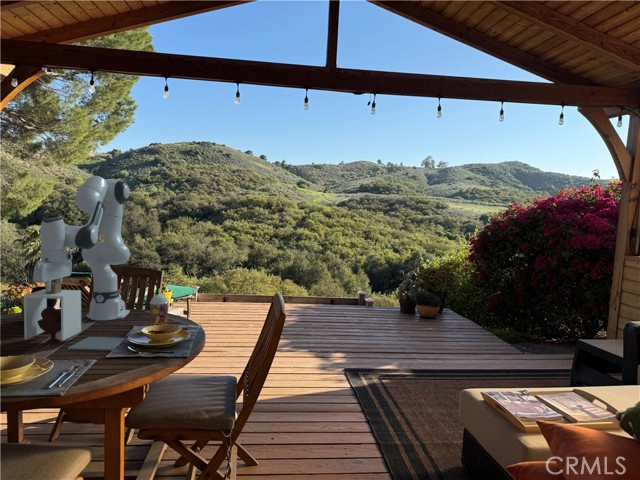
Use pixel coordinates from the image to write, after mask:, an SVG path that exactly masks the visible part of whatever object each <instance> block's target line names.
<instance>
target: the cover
mask: <svg viewBox="0 0 640 480" xmlns="http://www.w3.org/2000/svg"><path fill="white" fill-rule="evenodd" d="M50 284H51V287H53V290H52V291H50V292H47V291H46V289H44V290H41V291H37V292H34V293H31V292H30V293H28V294H23V307H24V319H23V322H24V323H23V324H24V325H23V326H24V327H23V328H24V329H23V330H24V335H23V337H24V340H29V339H30V338H33V337H35V336H38V335H41V334H40V333H42V332H45V331H43V330H42V329H41V328H40V327H39V325H38V322H37V321H39V320H41V319H43V318H42V317H41V312H42V311H43V310H44V309H45V308H47V298H52V299H57V300H60V310H61V330H60V331H61V333H60V335H61V336H60V337H61V339H60V340H61V341H64V340H68V339H69V338H71V337H73V336H75V335H77V334H79V333H81V332H82V290H79V289H78V290H77V289H62V282H61V283H58V282H56V281H55V282H52V281H51V283H50Z"/></svg>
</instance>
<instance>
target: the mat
mask: <svg viewBox="0 0 640 480" xmlns="http://www.w3.org/2000/svg"><path fill="white" fill-rule="evenodd" d="M124 338H125V337H111V336H109V337H105V336H104V337H103V336H100V337H99V336H88V337H86V338H84V339H82V340H80V341H78V342H76V343H75V344H73V345H70V346H68V347H67V349H66V350H68V351H71V350H72V351H98V352H99V351H100V352H101V351H104V352H113V351H115V350H116V349H117V348H116V347H117V346H119V344H120V343H121V341H122V340H123V339H124ZM119 347H120V346H119ZM115 348H116V349H115ZM114 349H115V350H114Z"/></svg>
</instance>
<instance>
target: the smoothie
mask: <svg viewBox="0 0 640 480" xmlns="http://www.w3.org/2000/svg"><path fill="white" fill-rule="evenodd" d="M169 302H170V301H169V300H168V297H167V296H165V295H164V294H161V288H158V294H155V295H154V296H152V298H151V300H150V301H149V308H150V309H149V311H150V327H151V326H153V325H162V324H167V325H168V316H169V314H168V313H169Z"/></svg>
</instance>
